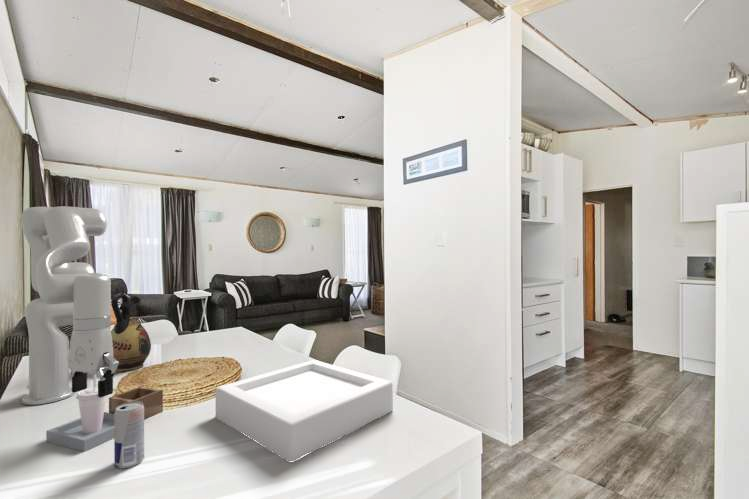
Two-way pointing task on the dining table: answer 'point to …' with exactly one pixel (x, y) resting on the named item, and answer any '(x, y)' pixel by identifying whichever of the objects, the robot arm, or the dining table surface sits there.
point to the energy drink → (128, 435)
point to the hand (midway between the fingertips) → (92, 392)
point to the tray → (303, 406)
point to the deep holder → (140, 400)
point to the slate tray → (81, 434)
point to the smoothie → (91, 408)
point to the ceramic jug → (128, 335)
